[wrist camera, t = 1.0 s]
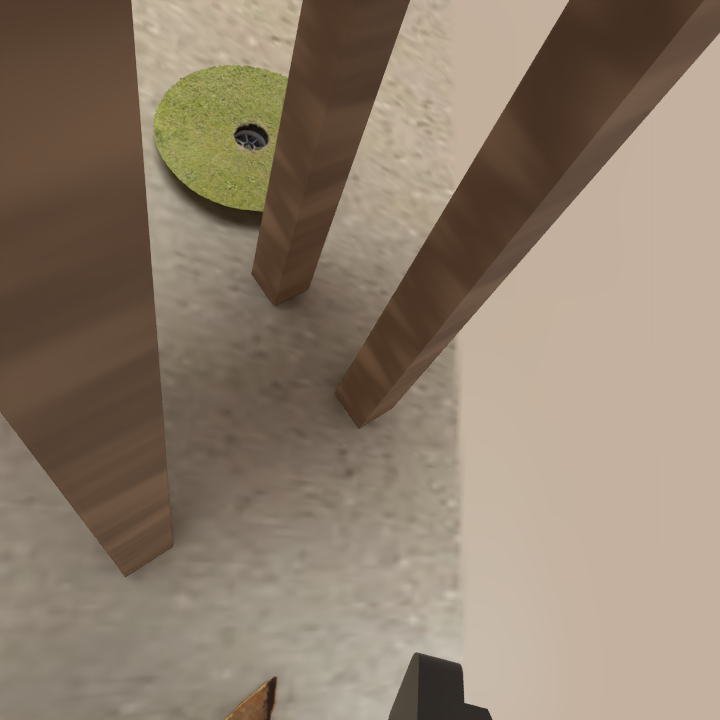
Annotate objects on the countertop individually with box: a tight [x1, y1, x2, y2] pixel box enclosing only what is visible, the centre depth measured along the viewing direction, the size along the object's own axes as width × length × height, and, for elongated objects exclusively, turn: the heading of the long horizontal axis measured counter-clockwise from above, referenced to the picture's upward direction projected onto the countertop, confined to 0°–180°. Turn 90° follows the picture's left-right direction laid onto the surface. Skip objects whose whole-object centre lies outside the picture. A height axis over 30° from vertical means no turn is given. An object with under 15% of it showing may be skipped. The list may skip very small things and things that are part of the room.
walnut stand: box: [0, 0, 720, 577], centre depth 20 cm, size 12×17×32 cm
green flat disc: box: [154, 65, 288, 212], centre depth 40 cm, size 11×11×2 cm
